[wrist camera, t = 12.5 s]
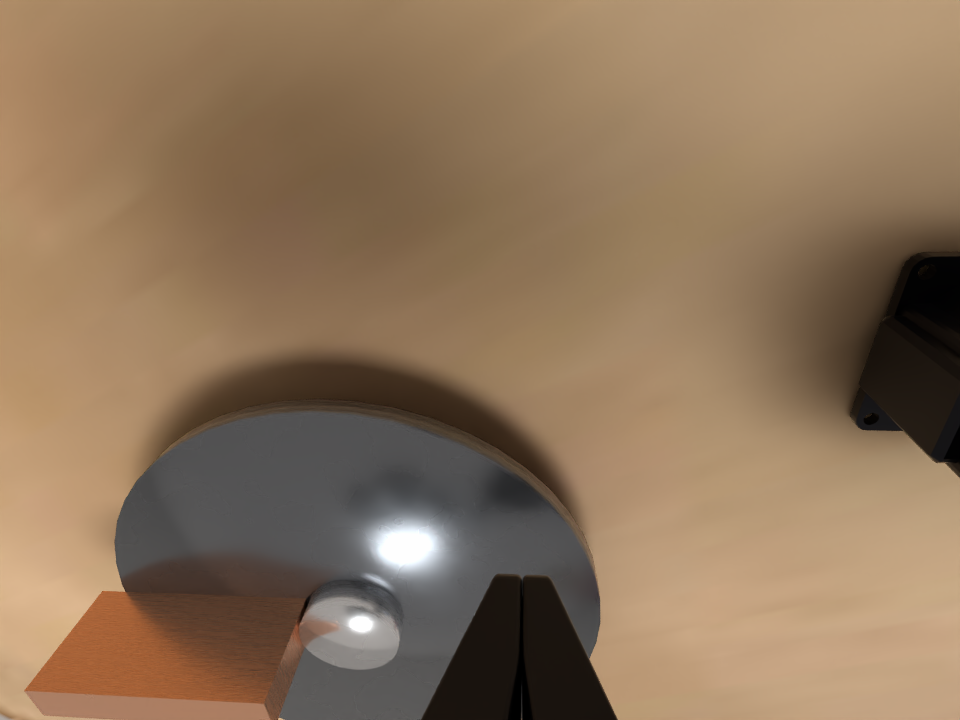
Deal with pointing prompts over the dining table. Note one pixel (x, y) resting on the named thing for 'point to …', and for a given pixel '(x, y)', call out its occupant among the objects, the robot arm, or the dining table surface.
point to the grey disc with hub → (309, 569)
